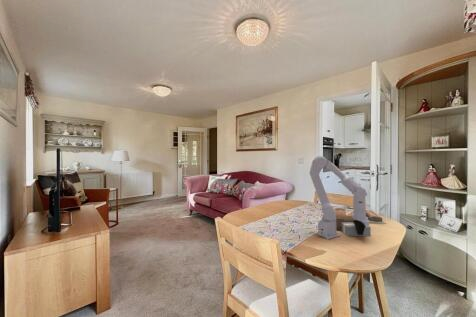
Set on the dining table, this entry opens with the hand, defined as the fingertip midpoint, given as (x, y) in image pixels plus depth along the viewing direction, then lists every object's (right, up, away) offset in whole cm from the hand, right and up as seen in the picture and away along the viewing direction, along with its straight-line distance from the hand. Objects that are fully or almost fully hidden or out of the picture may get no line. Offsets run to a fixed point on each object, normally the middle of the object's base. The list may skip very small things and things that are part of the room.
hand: (360, 234), depth 112 cm
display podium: (+1, -1, +13) cm, 13 cm away
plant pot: (+4, -1, +30) cm, 30 cm away
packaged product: (+24, -1, +28) cm, 37 cm away
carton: (+1, -1, +6) cm, 6 cm away
